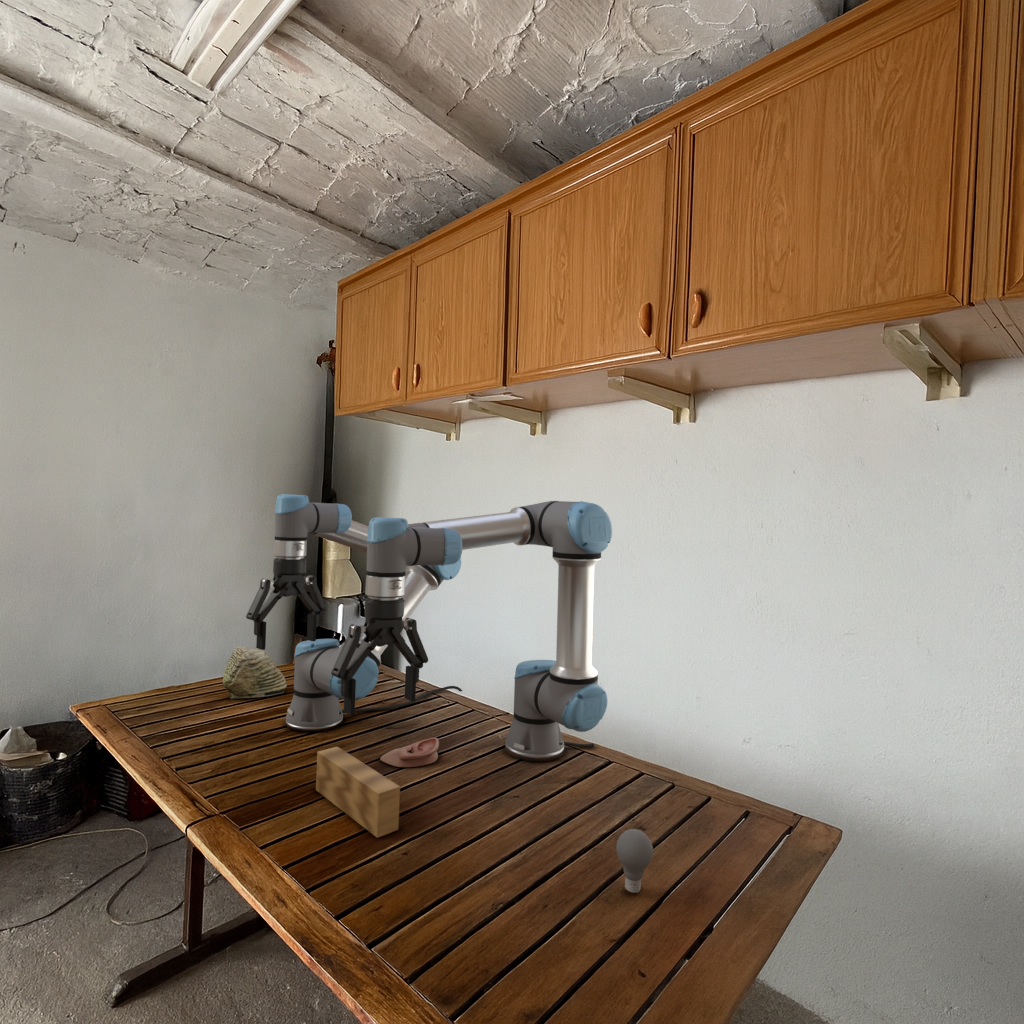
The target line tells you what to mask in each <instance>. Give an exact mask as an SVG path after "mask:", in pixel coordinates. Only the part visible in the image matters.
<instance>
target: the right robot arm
mask: <svg viewBox="0 0 1024 1024" xmlns="http://www.w3.org/2000/svg"><path fill="white" fill-rule="evenodd" d="M368 526H369V527H368V535H367V553H366V572H365V587H364V588H365V589H364V594H365V595H366V596H367V597H366V598H365V599H364V619H365V620H364V624H363V625H357V624H353V623H351V624H350V625H349V627H348V633H347V637H346V638H345V640H346V641H345V640H344V641H345V644H344V646H343V648H342V650H341V652H340V654H339V657H338V659H337V661H336V663H335V665H334V667H333V669H332V672H331V674H332V675H333V676H335V677H338V678H341V695H342V696H344V699H343V710H344V712H346V713H345V714H348V715H349V716H354V715H355V714H356V712H355V709H356V700H355V691H356V680H355V679H353V678H352V677H353V676H354V675H355V673H356V672H357V670H358V669H359V667H360V666H361V665H362V663H363V662H364V660H365V659H366V658H367V656H368V655H369V653H370V652H371V651H372V650H374V649H375V647H376V646H378V647H381V646H384V645H388V646H393V645H394V646H395V647H396V648H397V650H398V651H399V653H401V655H402V657H403V658H404V659H405V660H406V662H407V663H408V664H409V665H405V677H404V699H405V700H408V701H415V698H416V695H417V693H416V691H417V683H419V681H420V669H423V667H424V664H427V663H429V657H428V654H427V652H426V650H425V647H424V645H423V642H422V639H421V637H420V634H419V631H418V625H417V623H418V621H417V620H416V619H414V618H410V617H409V618H406V619H405V620H404V621H403V620H402V617H403V616H404V601H405V600H404V599H403V598H401V597H402V596H404V595H405V575H406V566H413V565H441V566H444V565H449V564H455V563H456V562H458V560H459V559H460V557H461V558H462V555H463V551H465V550H472V549H477V548H478V549H480V548H487V547H494V546H497V545H498V546H500V545H507V544H514V545H516V546H519V547H520V546H526V545H531V546H532V545H533V546H543V547H550V548H552V555H551V556H552V559H553V560H554V561H555V562H556V563H557V565H558V570H557V573H558V574H557V608H556V609H557V610H556V611H557V613H556V614H557V615H556V616H557V617H556V653H555V654H556V655H555V656H556V657H555V660H553V659H530V660H524V661H521V662H519V663H518V664H516V667H515V674H514V677H513V678H514V687H513V689H514V690H513V718H512V721H511V724H510V727H509V729H508V731H507V732H508V733H507V735H506V737H505V741H504V742H505V743H504V750H505V752H506V753H507V754H508V755H509V756H511V757H513V758H516V759H518V760H521V761H527V762H535V763H536V762H540V763H541V762H550V761H554V760H558V759H559V758H561V757H563V755H564V753H565V746H566V747H567V746H568V747H575V748H586V749H587V748H595V743H578V742H570V741H564V738H563V735H562V734H563V733H562V731H561V727H560V725H561V726H563V727H564V728H566V729H568V730H573V731H575V732H579V733H585V732H588V731H590V730H592V729H594V728H595V727H596V726H598V724H599V723H600V721H601V720H602V719H603V718H604V716H605V713H606V711H607V707H608V694H607V692H606V690H605V689H604V688H603V686H601V685H600V684H599V671H598V670H597V668H596V667H594V665H593V636H594V634H593V633H594V602H595V601H594V599H595V598H594V597H595V596H594V595H595V566H596V565H597V564H598V563H599V562H600V561H601V560H602V553H603V552H604V551H605V550H607V548H608V547H609V544H610V543H611V541H612V537H613V525H612V521H611V517H610V516H609V514H608V513H607V511H605V509H604V508H603V507H602V506H600V505H599V504H596V503H593V502H587V501H583V500H582V501H567V500H565V501H564V500H561V501H560V500H548V501H542V502H538V503H533V504H527V505H523V506H514V507H513V508H511V509H510V510H509V511H508V512H500V513H490V514H482V515H481V514H480V515H474V516H464V517H457V518H448V519H447V518H446V519H440V520H432V521H423V522H415V523H408V520H407V519H406V518H403V517H386V516H385V517H384V516H381V517H380V516H377V517H373V518H371V519H370V520H369V522H368ZM403 629H404V631H405V633H406V636H407V639H408V641H409V643H410V646H411V648H412V649H411V648H410V646H409V645H408V644H407V642H406V640H405V638H404V637H403V636H402V634H401V633H402V631H403ZM363 633H365V635H366V636H365V637H364V638H363V640H362V641H361V643H360V644H361V645H360V646H359V648H358V649H357V651H356V652H355V650H356V647H357V645H358V643H359V640H360V637H361V636H363ZM369 641H370V642H371V643H369ZM354 652H355V653H354ZM353 654H354V655H353Z"/></svg>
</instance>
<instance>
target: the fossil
mask: <svg viewBox="0 0 1024 1024" xmlns="http://www.w3.org/2000/svg"><path fill="white" fill-rule="evenodd" d="M222 676H223V677H222V685H223V687H224V688H225V690H226V691H228V693H229V698H230V699H250V698H264V697H271V696H275V695H281V694H284V693H285V691H286V689H287V687H288V686H287V680H286V678H285V676H284V674H283V673H282V672H281V669H279V668H278V667H277V665H276V663H275V662H274V660H273V659H272V658H271V657H270V656H269V655H268V654H267V653H266V652H265V650H261V649H258V648H251V647H247V646H246V647H245V646H238V647H237V648H236V649H235V650H233V651H232V653H231V656H230V657H229V659H228V660H227V663H226V666H225V668H224V671H223V675H222Z"/></svg>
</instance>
